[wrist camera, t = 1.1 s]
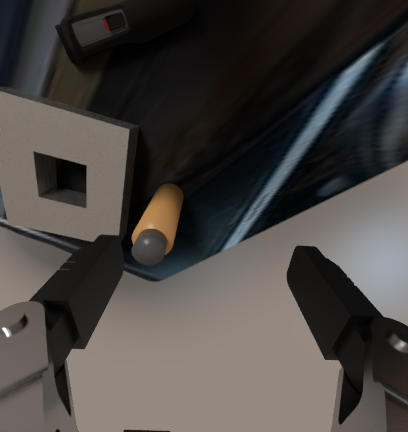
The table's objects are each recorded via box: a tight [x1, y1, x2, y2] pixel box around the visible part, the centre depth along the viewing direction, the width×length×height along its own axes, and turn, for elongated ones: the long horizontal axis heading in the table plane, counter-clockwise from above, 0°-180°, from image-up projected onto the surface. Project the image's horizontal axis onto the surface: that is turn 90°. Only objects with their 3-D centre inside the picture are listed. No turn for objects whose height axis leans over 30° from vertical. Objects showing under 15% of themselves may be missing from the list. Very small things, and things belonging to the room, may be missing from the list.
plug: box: [132, 184, 184, 265], centre depth 26 cm, size 4×4×14 cm
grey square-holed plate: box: [0, 87, 139, 242], centre depth 29 cm, size 18×16×4 cm
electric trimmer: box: [55, 0, 196, 64], centre depth 21 cm, size 4×16×3 cm, turn 103°
